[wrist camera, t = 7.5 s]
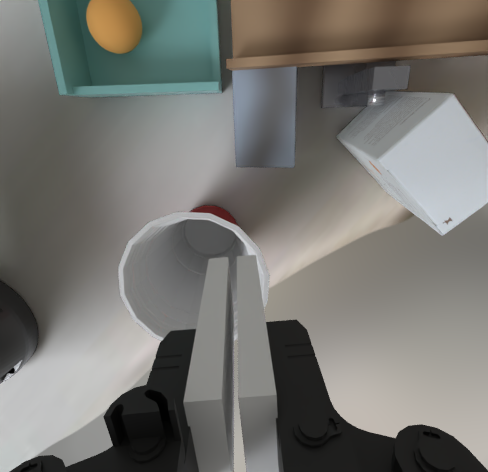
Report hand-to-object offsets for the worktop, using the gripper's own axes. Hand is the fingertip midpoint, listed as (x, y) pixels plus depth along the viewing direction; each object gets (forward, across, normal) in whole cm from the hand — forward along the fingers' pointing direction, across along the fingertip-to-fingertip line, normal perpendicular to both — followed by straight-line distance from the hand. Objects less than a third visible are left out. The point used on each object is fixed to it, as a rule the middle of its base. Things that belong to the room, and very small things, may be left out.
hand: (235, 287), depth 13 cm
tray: (+20, -6, +14) cm, 25 cm away
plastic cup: (+20, -3, -5) cm, 21 cm away
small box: (+20, +14, +3) cm, 24 cm away
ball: (+18, -8, +14) cm, 24 cm away
